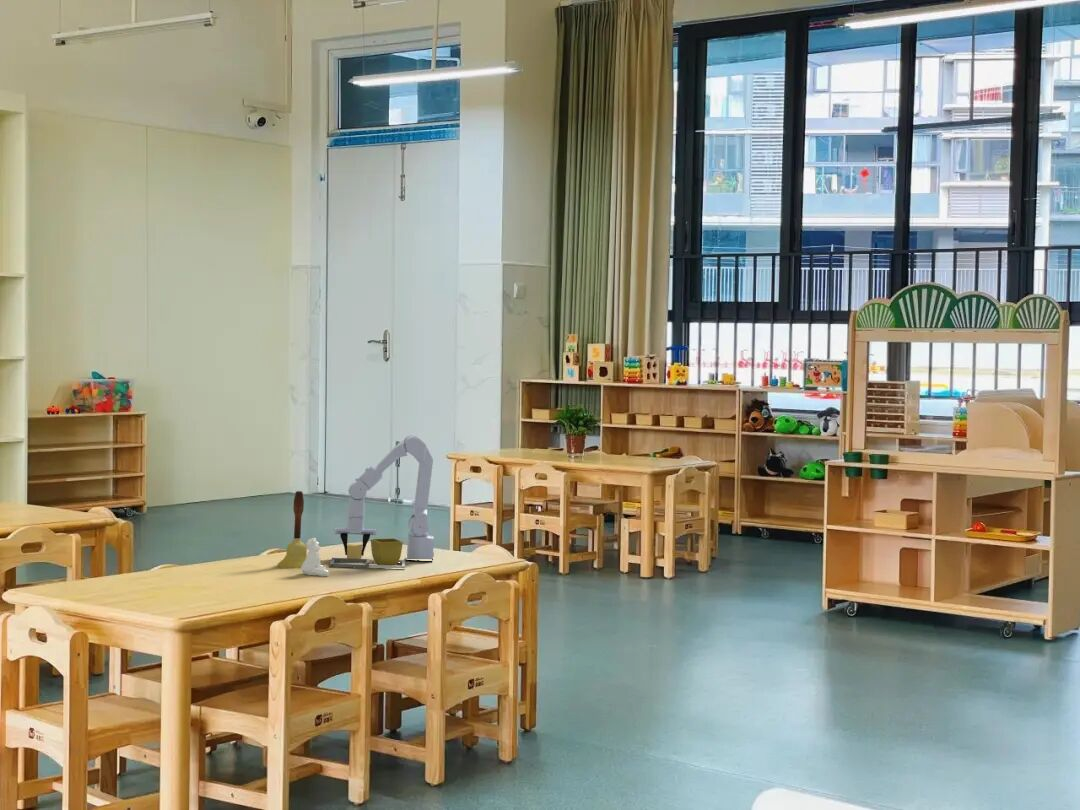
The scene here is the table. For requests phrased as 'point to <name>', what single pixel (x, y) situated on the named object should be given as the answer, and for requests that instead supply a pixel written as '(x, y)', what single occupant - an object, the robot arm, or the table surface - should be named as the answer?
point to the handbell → (296, 538)
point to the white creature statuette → (313, 560)
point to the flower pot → (386, 551)
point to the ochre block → (354, 551)
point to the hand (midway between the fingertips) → (354, 555)
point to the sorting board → (362, 564)
